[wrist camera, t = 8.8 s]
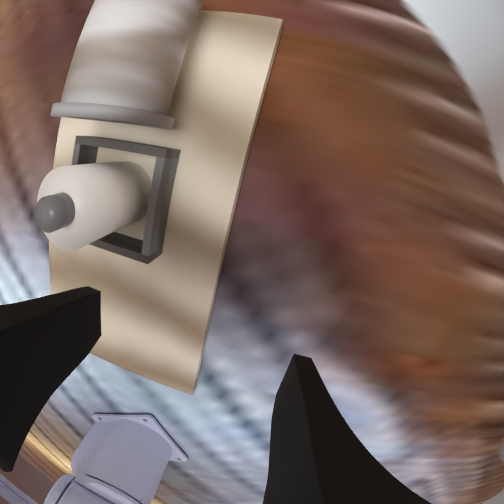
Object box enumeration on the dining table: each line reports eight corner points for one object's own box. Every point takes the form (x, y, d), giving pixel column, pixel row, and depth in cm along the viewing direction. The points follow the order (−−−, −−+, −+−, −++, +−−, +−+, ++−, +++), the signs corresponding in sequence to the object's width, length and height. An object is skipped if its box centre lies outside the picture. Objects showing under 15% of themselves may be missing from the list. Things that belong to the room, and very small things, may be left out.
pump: (114, 232, 18) (41, 270, 11) (92, 178, 17) (12, 194, 10) (162, 208, 17) (92, 240, 10) (138, 149, 16) (58, 151, 9)
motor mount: (196, 387, 22) (167, 454, 15) (62, 329, 23) (14, 371, 16) (283, 26, 14) (275, -44, 7) (98, 21, 14) (36, -10, 7)
